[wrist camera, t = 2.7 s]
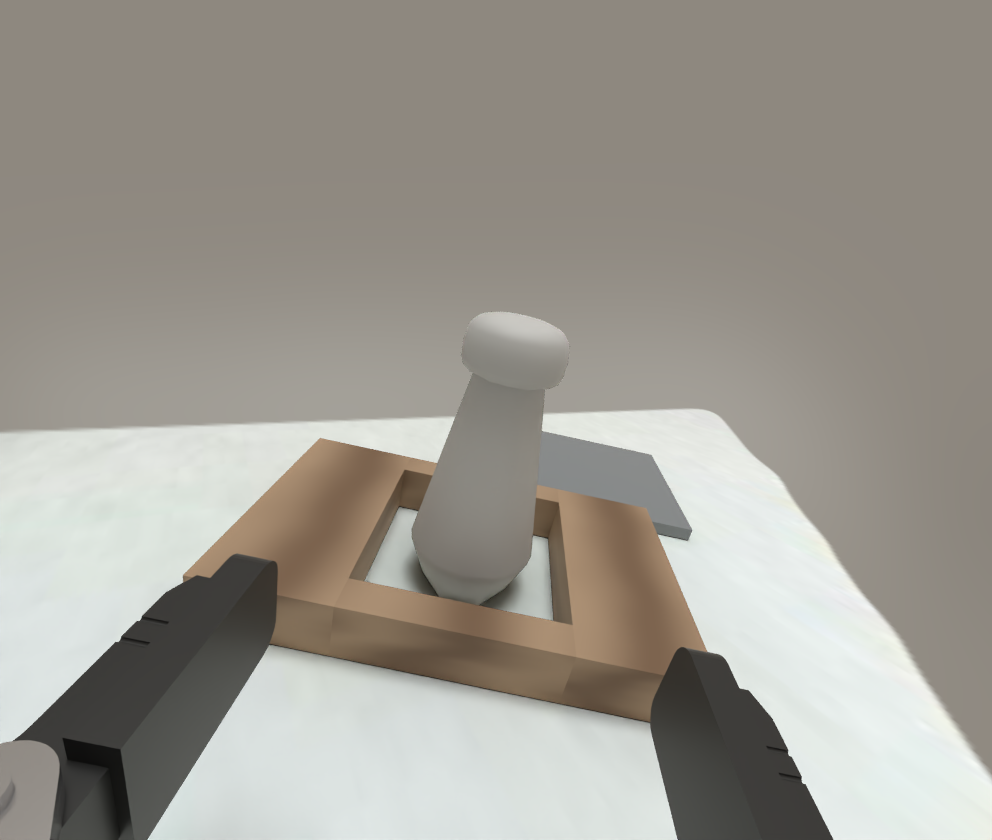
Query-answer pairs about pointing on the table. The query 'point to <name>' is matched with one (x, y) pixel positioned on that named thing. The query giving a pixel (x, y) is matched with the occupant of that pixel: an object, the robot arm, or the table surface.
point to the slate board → (611, 478)
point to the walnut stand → (457, 625)
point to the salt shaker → (490, 460)
